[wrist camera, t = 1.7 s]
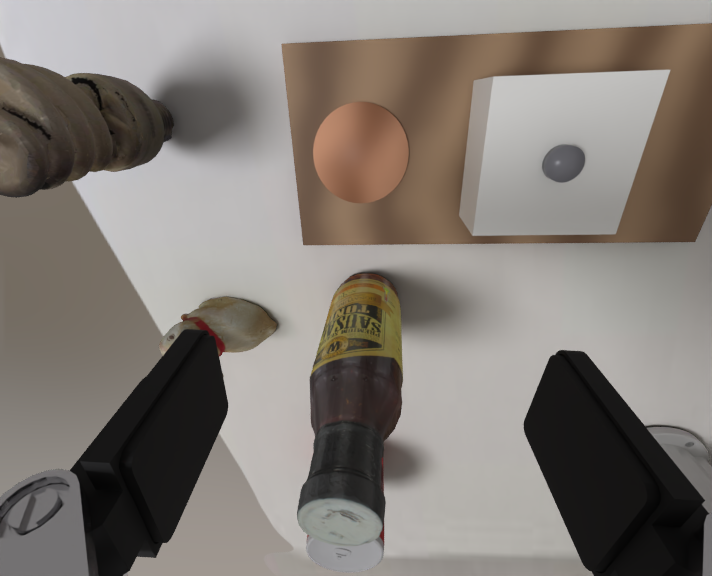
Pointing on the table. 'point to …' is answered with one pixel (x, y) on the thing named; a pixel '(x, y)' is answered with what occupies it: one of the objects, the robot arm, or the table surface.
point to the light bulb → (72, 127)
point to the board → (451, 123)
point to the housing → (555, 151)
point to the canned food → (347, 552)
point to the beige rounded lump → (225, 325)
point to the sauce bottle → (353, 412)
